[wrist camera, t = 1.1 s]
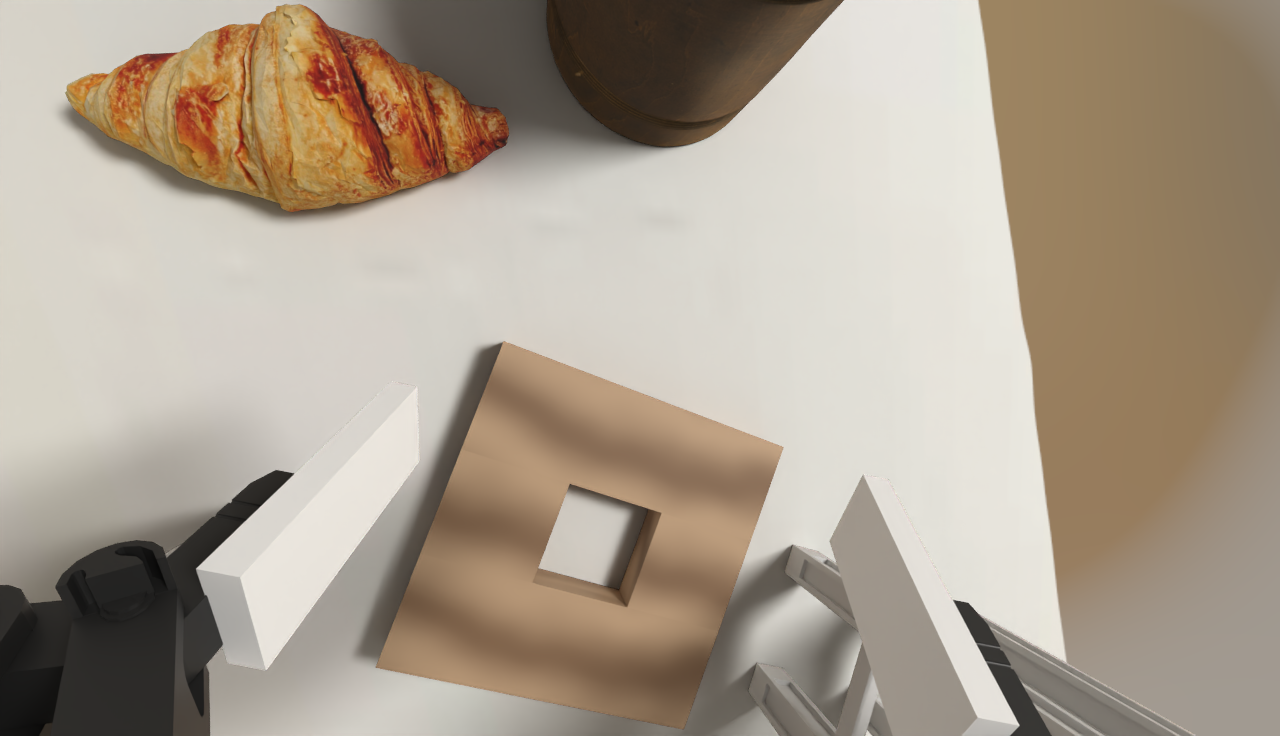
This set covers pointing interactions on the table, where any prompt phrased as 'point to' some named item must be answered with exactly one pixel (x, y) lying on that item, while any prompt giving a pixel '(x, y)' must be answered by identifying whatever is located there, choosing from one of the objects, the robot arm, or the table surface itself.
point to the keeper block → (568, 607)
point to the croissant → (291, 113)
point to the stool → (1064, 696)
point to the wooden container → (675, 59)
